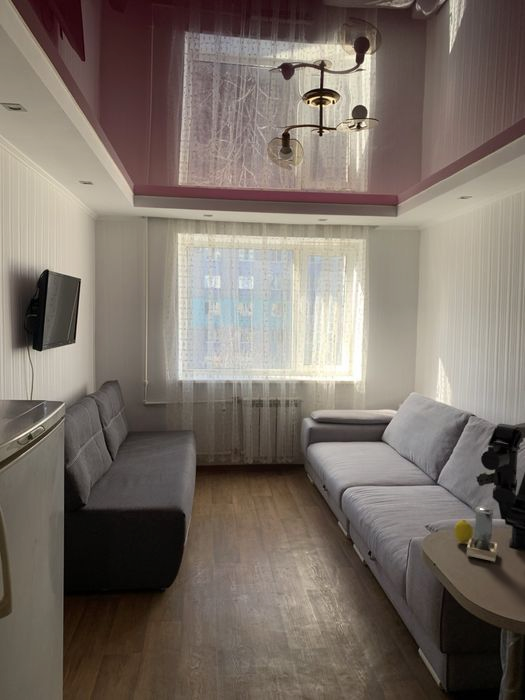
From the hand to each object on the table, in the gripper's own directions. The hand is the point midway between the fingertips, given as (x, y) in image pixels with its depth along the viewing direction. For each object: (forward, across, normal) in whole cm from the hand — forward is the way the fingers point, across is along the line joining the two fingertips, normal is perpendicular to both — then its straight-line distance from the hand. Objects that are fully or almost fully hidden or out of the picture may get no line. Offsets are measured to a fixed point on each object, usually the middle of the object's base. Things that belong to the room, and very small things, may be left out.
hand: (503, 514), depth 163 cm
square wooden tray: (+13, +4, -6) cm, 15 cm away
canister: (+11, +4, -5) cm, 13 cm away
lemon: (+13, -3, -12) cm, 18 cm away
